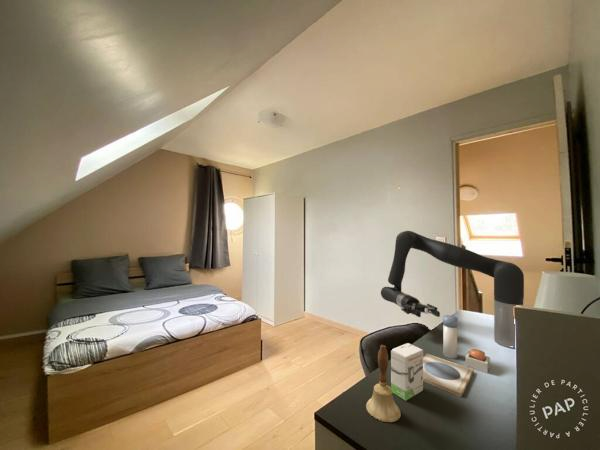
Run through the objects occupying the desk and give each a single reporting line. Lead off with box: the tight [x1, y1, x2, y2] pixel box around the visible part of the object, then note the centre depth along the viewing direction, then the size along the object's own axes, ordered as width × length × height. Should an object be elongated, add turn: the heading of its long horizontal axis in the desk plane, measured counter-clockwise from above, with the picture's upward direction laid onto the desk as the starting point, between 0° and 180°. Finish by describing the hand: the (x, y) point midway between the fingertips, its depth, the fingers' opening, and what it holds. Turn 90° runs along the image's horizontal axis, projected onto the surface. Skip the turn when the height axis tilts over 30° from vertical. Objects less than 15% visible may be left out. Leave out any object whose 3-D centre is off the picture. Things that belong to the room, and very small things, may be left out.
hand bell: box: [365, 344, 402, 423], centre depth 62 cm, size 8×8×16 cm
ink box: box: [390, 342, 424, 402], centre depth 69 cm, size 9×5×12 cm, turn 123°
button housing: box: [464, 350, 491, 374], centre depth 83 cm, size 6×6×3 cm
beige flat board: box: [423, 353, 474, 398], centre depth 78 cm, size 17×14×1 cm
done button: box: [469, 348, 486, 360], centre depth 83 cm, size 4×4×2 cm
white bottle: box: [442, 314, 459, 359], centre depth 90 cm, size 5×5×14 cm
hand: (429, 314), depth 101 cm, fingers open, 8 cm apart
